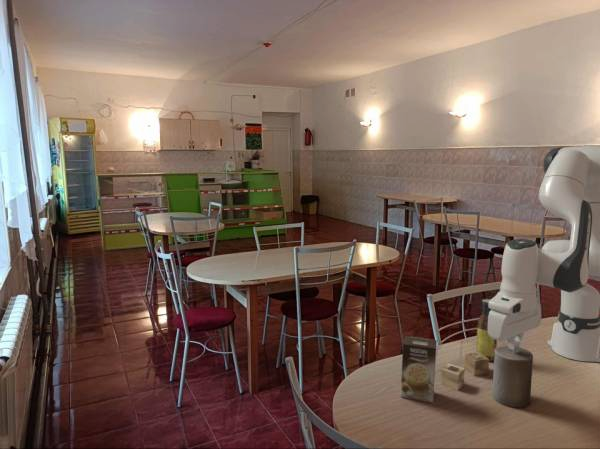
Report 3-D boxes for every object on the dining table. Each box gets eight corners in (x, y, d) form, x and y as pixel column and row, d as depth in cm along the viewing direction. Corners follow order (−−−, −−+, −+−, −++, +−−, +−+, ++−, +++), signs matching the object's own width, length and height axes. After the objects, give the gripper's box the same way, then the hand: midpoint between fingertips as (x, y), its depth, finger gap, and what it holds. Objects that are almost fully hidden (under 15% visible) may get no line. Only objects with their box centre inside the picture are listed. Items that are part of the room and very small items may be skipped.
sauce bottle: (498, 362, 144) (501, 304, 141) (477, 361, 145) (481, 303, 142) (493, 354, 150) (497, 298, 147) (474, 352, 151) (477, 297, 148)
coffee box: (399, 397, 123) (401, 343, 121) (402, 386, 129) (403, 334, 127) (433, 403, 120) (436, 348, 118) (434, 391, 126) (436, 338, 124)
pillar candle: (538, 404, 119) (542, 352, 117) (510, 411, 116) (514, 357, 114) (510, 387, 128) (513, 338, 126) (483, 393, 125) (486, 343, 123)
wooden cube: (478, 367, 141) (479, 351, 140) (488, 374, 136) (489, 358, 135) (464, 368, 140) (465, 353, 139) (474, 376, 135) (475, 360, 134)
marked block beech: (447, 378, 134) (448, 362, 133) (463, 384, 130) (464, 367, 130) (440, 385, 130) (441, 368, 129) (457, 390, 127) (458, 374, 126)
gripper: (527, 290, 126) (523, 335, 128) (484, 303, 115) (481, 352, 117) (549, 295, 121) (545, 343, 123) (506, 310, 110) (503, 361, 112)
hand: (513, 347), depth 120 cm, fingers closed, pressing on pillar candle
